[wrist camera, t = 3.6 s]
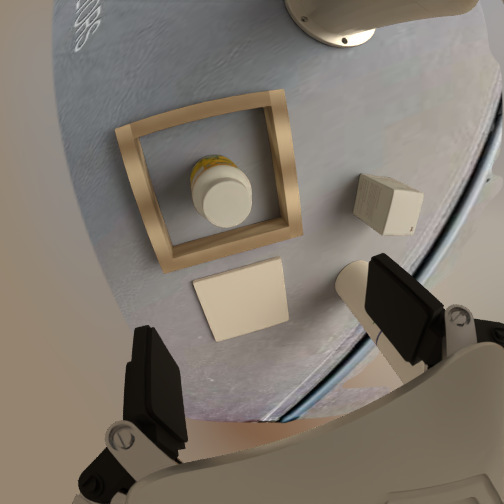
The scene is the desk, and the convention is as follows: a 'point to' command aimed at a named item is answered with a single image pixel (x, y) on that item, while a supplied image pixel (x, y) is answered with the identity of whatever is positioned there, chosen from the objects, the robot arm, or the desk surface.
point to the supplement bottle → (220, 191)
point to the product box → (387, 205)
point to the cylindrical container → (353, 295)
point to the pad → (244, 298)
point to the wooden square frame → (232, 239)
